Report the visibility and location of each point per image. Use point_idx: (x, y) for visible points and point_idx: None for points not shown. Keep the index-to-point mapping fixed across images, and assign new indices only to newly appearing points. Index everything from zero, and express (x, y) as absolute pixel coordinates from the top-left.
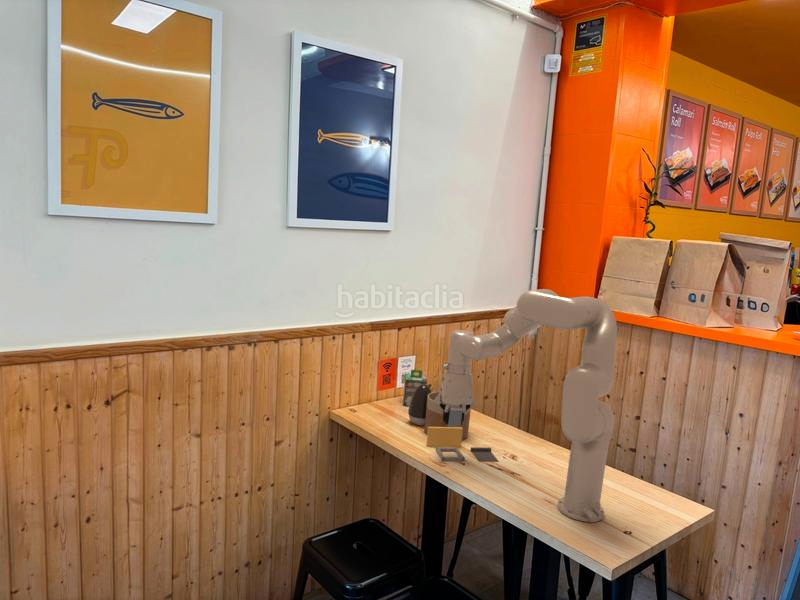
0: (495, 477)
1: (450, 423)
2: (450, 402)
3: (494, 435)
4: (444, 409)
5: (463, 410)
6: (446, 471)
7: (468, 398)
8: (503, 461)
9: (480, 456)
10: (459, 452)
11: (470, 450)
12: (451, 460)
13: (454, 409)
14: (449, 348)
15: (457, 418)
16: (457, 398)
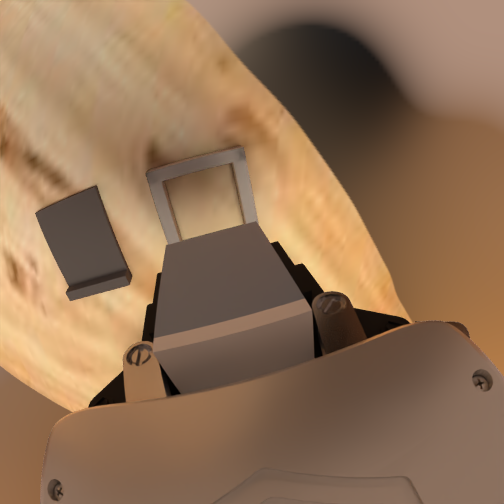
0: (50, 82)
1: (249, 234)
2: (372, 357)
3: (95, 386)
4: (350, 309)
5: (148, 360)
6: (226, 67)
7: (76, 485)
8: (28, 230)
9: (92, 237)
10: (168, 225)
11: (131, 278)
12: (201, 155)
13: (257, 318)
14: None
15: (198, 270)
16: (277, 470)
